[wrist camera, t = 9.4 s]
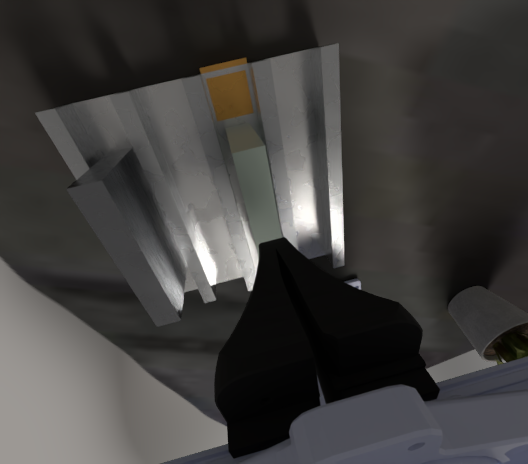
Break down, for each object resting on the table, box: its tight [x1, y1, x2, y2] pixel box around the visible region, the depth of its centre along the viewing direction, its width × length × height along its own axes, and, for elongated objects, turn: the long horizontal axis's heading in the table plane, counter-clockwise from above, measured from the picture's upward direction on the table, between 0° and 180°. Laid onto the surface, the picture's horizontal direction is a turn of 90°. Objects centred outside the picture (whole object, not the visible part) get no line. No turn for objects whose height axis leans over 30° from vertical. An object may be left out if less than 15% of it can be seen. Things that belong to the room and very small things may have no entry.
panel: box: [225, 123, 282, 257], centre depth 18 cm, size 10×2×6 cm, turn 11°
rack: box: [35, 43, 345, 327], centre depth 18 cm, size 16×16×7 cm
